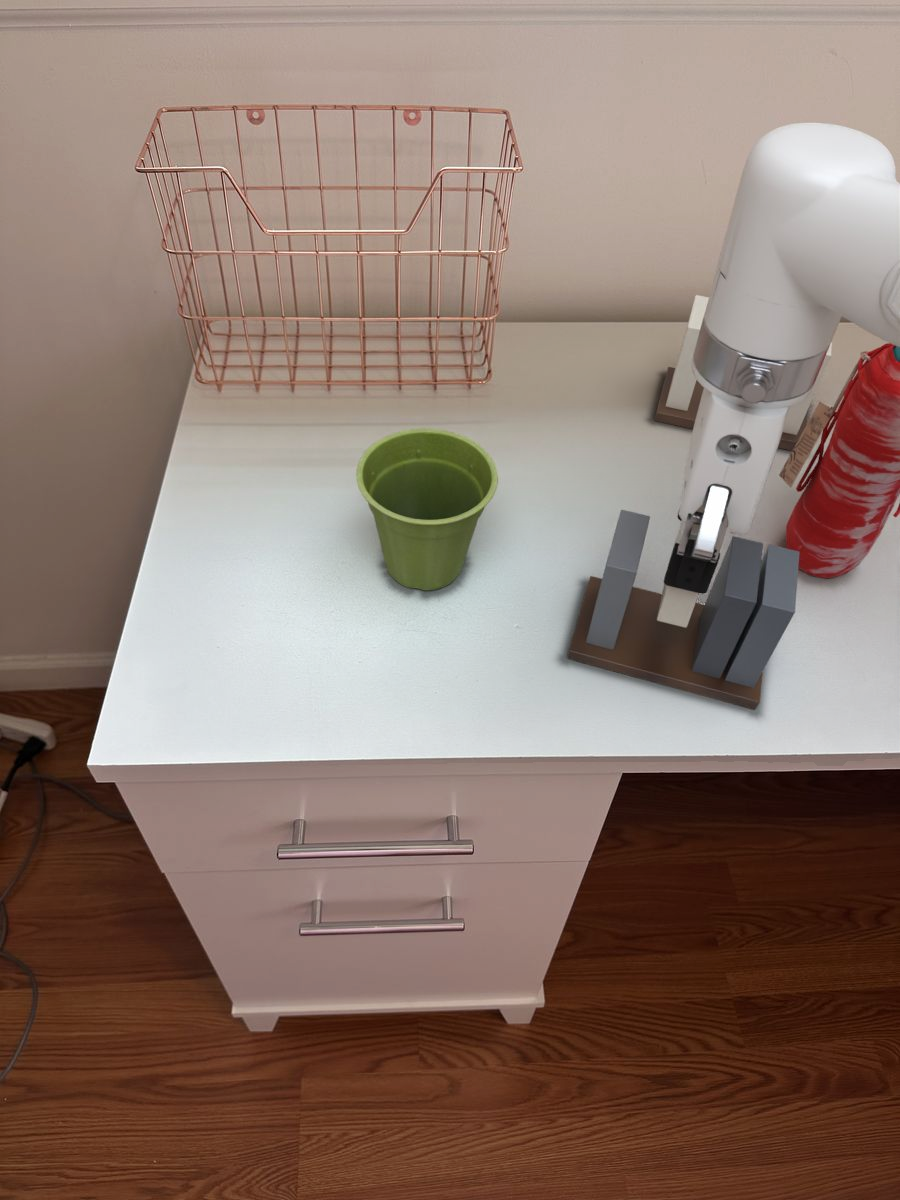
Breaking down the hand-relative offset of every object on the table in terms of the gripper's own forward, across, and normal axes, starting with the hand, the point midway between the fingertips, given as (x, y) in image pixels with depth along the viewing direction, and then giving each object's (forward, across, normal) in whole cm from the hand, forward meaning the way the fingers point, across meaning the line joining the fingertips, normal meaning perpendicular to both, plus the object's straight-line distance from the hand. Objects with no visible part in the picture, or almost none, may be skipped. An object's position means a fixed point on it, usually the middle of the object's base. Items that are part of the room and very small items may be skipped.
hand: (691, 551), depth 66 cm
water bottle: (+12, +16, -12) cm, 23 cm away
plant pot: (+11, +2, +22) cm, 25 cm away
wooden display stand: (+12, +35, -2) cm, 37 cm away
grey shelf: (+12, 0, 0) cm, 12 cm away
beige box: (+5, 0, 0) cm, 5 cm away
